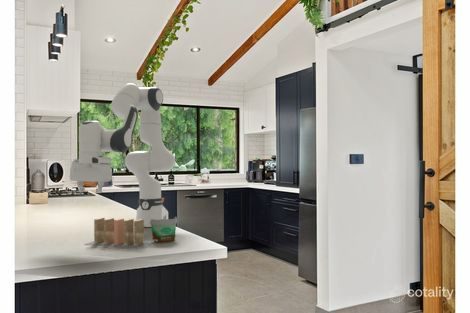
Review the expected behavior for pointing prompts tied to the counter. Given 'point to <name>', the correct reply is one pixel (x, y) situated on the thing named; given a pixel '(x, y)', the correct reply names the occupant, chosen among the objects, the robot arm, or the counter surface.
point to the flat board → (119, 245)
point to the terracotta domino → (118, 231)
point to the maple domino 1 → (99, 230)
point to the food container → (163, 230)
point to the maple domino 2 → (108, 231)
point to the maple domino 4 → (139, 232)
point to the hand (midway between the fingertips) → (90, 192)
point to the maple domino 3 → (128, 232)
